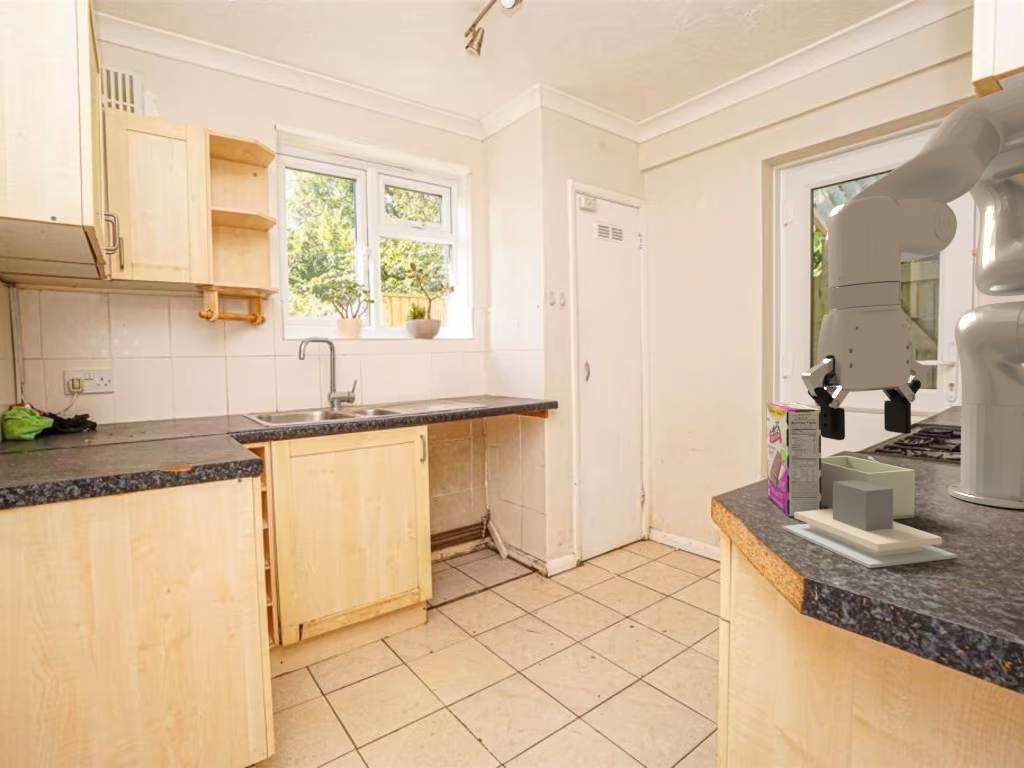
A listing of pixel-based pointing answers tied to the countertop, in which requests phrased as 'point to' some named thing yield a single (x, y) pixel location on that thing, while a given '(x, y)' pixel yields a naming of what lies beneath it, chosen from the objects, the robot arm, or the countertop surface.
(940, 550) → the board
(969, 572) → the countertop surface
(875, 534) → the lid
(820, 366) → the robot arm
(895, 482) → the tub
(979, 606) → the countertop surface
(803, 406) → the candy bar box
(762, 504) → the countertop surface
